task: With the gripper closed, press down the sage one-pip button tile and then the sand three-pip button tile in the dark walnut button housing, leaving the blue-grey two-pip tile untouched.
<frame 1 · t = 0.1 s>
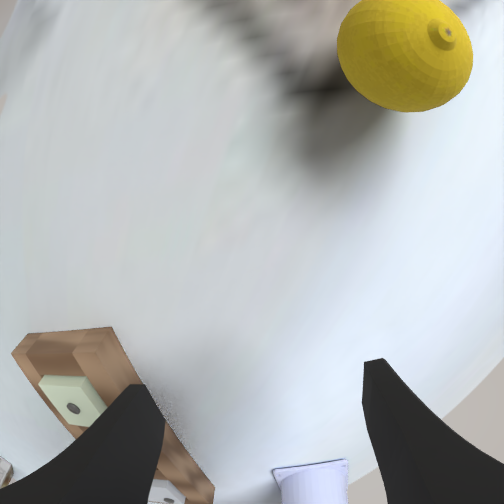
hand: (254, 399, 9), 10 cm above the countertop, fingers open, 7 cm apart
button one: (79, 396, 21), point 3 cm above the countertop, slide at 0.0 cm
lemon: (372, 65, 14), on the countertop
housing: (130, 431, 27), on the countertop
coffee box: (2, 460, 41), on the countertop
button two: (157, 486, 27), point 3 cm above the countertop, slide at 0.0 cm
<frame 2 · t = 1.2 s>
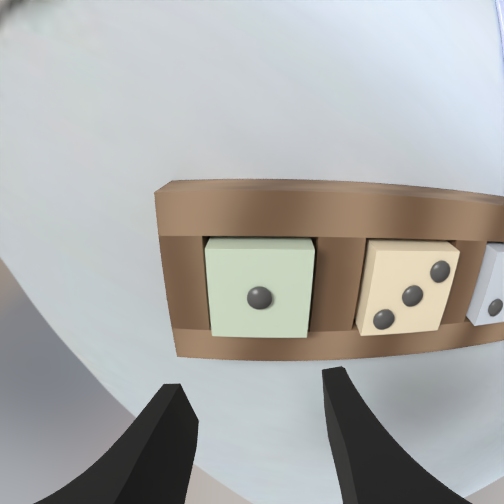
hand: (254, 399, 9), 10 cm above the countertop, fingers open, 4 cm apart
button one: (260, 284, 17), point 3 cm above the countertop, slide at 0.0 cm
button three: (403, 283, 16), point 3 cm above the countertop, slide at 0.0 cm
housing: (388, 263, 19), on the countertop
button two: (501, 279, 16), point 3 cm above the countertop, slide at 0.0 cm
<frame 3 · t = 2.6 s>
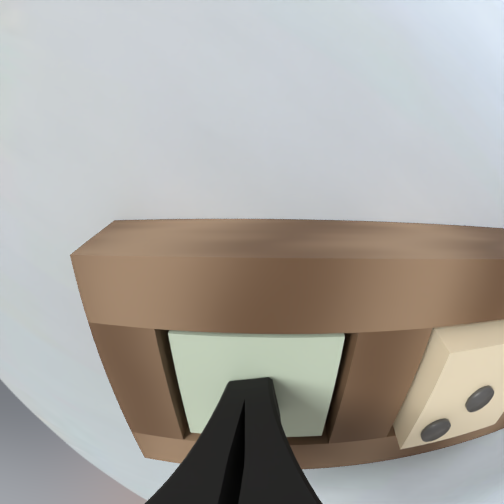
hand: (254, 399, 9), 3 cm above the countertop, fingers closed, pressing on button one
button one: (257, 369, 11), point 1 cm above the countertop, slide at 1.1 cm, touching gripper
button three: (465, 374, 9), point 3 cm above the countertop, slide at 0.0 cm
housing: (440, 335, 12), on the countertop
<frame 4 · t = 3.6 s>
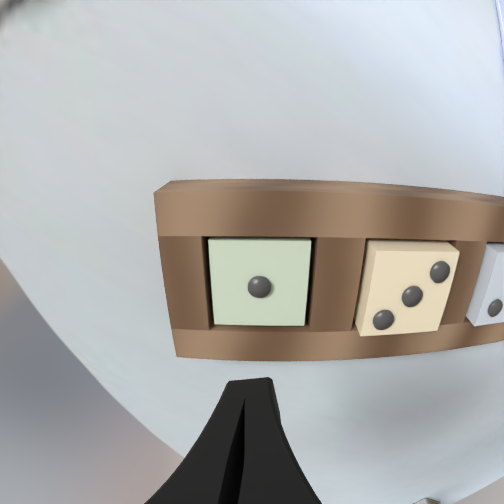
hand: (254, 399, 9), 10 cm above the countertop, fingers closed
button one: (259, 274, 18), point 1 cm above the countertop, slide at 1.1 cm
button three: (403, 283, 16), point 3 cm above the countertop, slide at 0.0 cm
housing: (388, 264, 19), on the countertop
button two: (501, 280, 16), point 3 cm above the countertop, slide at 0.0 cm
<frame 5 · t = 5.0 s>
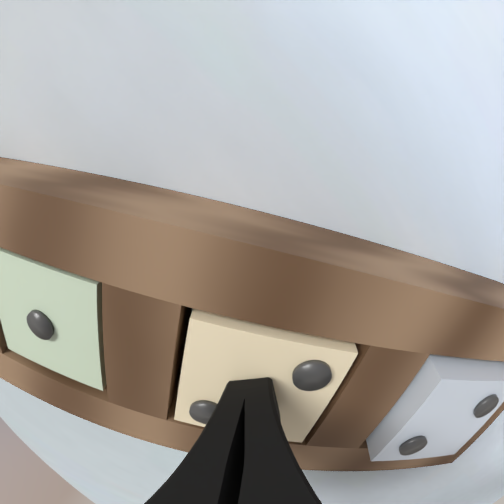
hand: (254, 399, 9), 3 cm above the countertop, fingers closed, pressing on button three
button one: (58, 305, 11), point 1 cm above the countertop, slide at 1.1 cm
button three: (257, 368, 11), point 2 cm above the countertop, slide at 0.8 cm, touching gripper
housing: (258, 338, 12), on the countertop
button two: (440, 403, 11), point 3 cm above the countertop, slide at 0.0 cm
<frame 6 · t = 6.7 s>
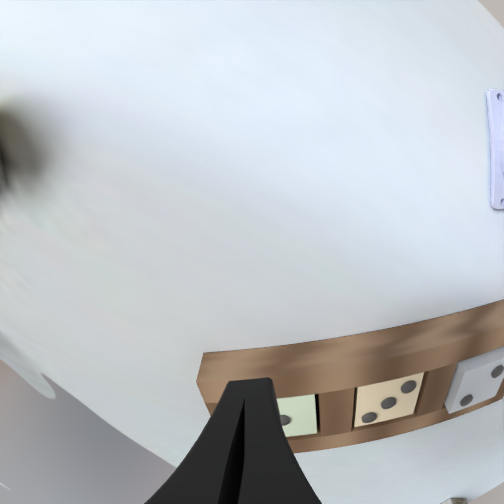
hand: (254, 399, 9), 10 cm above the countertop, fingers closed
button one: (281, 406, 22), point 1 cm above the countertop, slide at 1.1 cm
button three: (384, 390, 21), point 1 cm above the countertop, slide at 1.1 cm
housing: (379, 377, 23), on the countertop
coffee box: (446, 503, 39), on the countertop
button two: (475, 375, 19), point 3 cm above the countertop, slide at 0.0 cm
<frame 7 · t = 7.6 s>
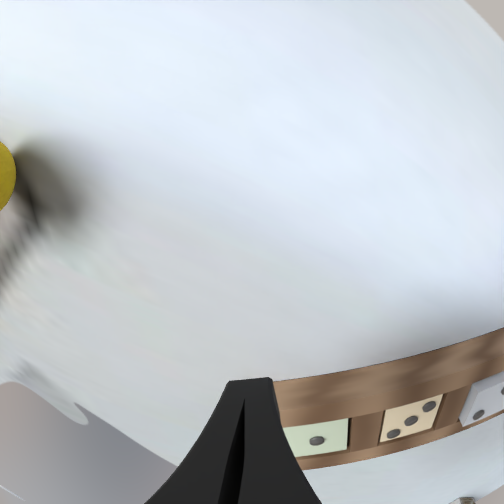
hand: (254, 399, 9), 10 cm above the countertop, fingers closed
button one: (315, 427, 23), point 1 cm above the countertop, slide at 1.1 cm
lemon: (13, 167, 17), on the countertop
button three: (406, 408, 22), point 1 cm above the countertop, slide at 1.1 cm
housing: (402, 397, 24), on the countertop
coffee box: (455, 503, 40), on the countertop
button two: (486, 392, 20), point 3 cm above the countertop, slide at 0.0 cm
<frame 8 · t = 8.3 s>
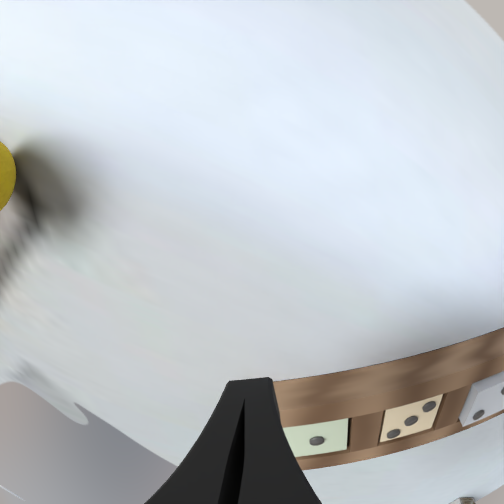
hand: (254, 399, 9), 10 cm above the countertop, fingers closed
button one: (315, 427, 23), point 1 cm above the countertop, slide at 1.1 cm
lemon: (13, 167, 17), on the countertop
button three: (406, 408, 22), point 1 cm above the countertop, slide at 1.1 cm
housing: (402, 397, 24), on the countertop
coffee box: (455, 503, 40), on the countertop
button two: (486, 392, 20), point 3 cm above the countertop, slide at 0.0 cm
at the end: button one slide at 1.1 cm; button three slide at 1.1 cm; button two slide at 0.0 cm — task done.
